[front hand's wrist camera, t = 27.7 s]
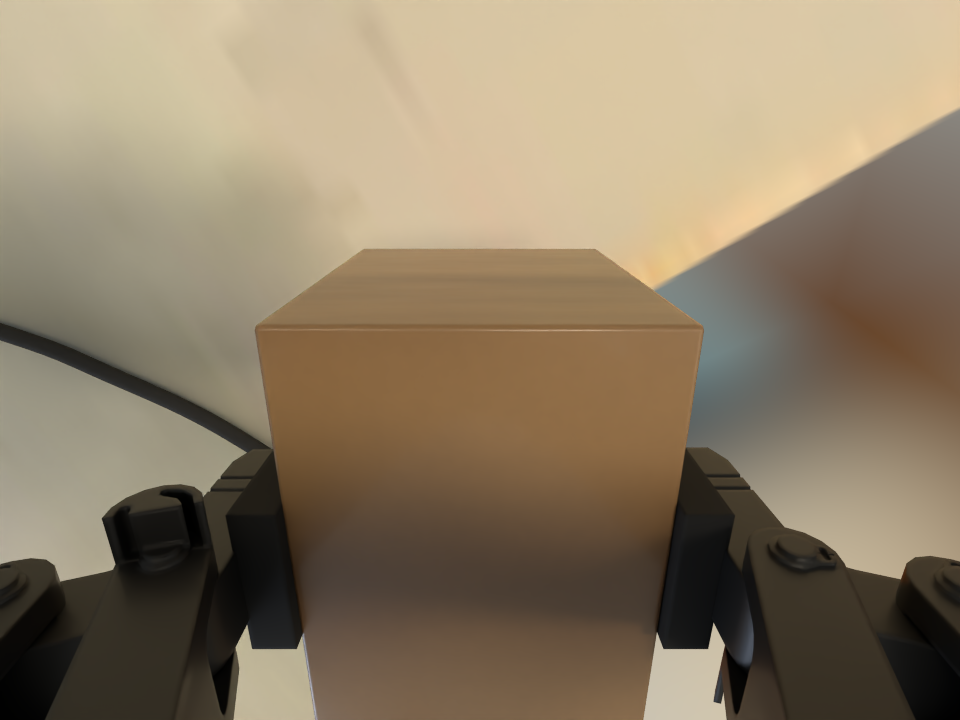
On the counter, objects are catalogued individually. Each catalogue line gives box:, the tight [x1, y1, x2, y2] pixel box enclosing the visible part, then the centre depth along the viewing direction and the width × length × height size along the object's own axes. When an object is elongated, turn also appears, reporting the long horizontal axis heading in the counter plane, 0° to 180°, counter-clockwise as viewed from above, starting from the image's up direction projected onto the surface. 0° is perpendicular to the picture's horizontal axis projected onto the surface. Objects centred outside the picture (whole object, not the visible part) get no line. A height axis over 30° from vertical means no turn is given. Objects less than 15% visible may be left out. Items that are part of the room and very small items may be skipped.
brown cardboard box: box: [255, 249, 704, 720], centre depth 12 cm, size 9×6×7 cm
